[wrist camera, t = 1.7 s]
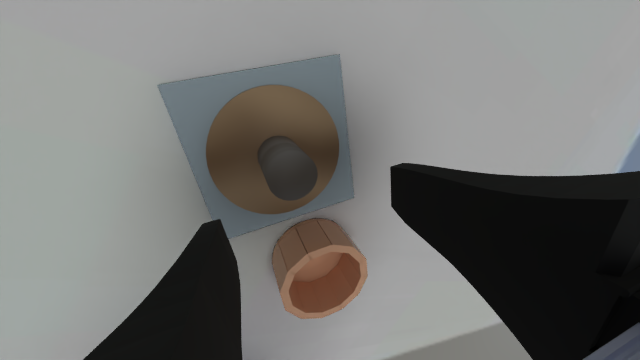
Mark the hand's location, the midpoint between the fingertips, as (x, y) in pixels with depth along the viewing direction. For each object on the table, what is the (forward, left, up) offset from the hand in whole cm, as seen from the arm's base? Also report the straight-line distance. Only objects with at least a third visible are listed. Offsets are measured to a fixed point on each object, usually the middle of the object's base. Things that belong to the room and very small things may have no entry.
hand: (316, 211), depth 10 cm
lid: (0, 0, -8) cm, 8 cm away
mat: (0, 0, -9) cm, 9 cm away
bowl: (-10, -1, -9) cm, 14 cm away
